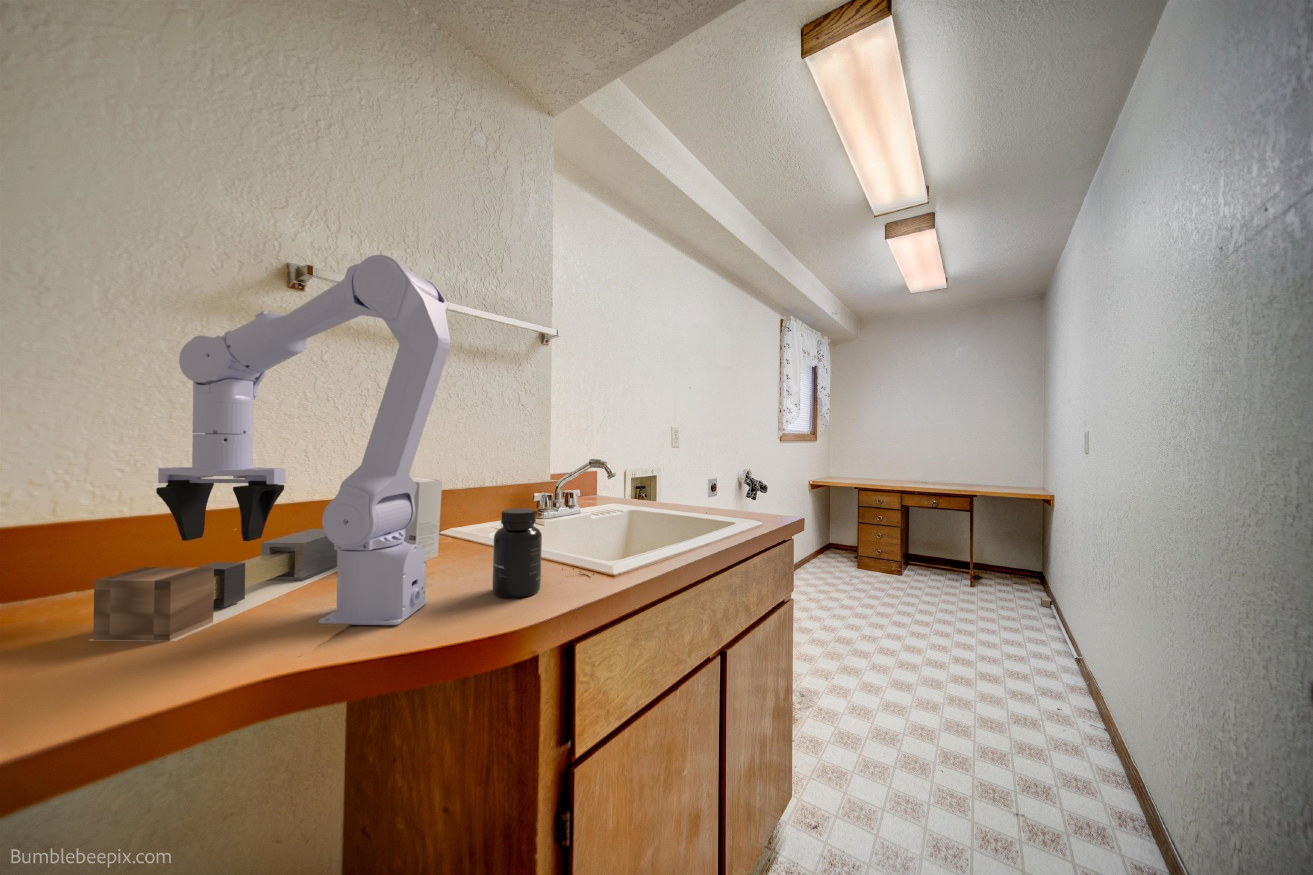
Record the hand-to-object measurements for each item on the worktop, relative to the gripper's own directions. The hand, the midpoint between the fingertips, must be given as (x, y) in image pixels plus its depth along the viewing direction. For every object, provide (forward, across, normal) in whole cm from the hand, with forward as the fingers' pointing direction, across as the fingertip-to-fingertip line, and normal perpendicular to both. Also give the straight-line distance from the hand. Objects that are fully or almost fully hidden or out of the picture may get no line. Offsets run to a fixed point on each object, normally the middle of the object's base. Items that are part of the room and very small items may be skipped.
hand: (222, 539), depth 60 cm
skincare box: (+9, -12, -24) cm, 29 cm away
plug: (+8, 0, -1) cm, 8 cm away
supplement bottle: (+9, -36, -8) cm, 38 cm away
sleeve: (+8, 0, -15) cm, 18 cm away
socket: (+8, 0, +8) cm, 12 cm away
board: (+9, 0, -5) cm, 10 cm away
